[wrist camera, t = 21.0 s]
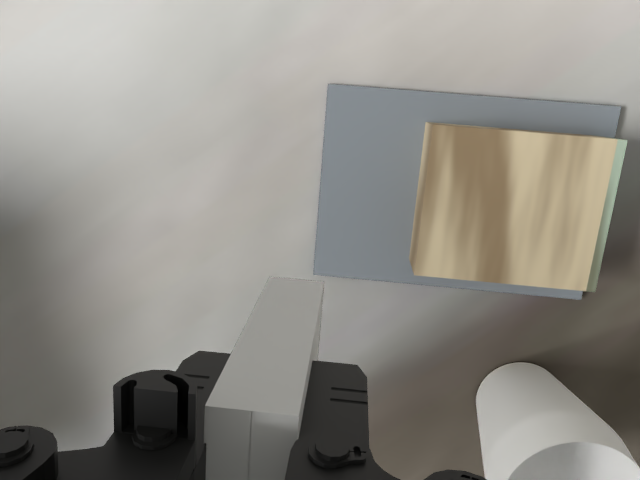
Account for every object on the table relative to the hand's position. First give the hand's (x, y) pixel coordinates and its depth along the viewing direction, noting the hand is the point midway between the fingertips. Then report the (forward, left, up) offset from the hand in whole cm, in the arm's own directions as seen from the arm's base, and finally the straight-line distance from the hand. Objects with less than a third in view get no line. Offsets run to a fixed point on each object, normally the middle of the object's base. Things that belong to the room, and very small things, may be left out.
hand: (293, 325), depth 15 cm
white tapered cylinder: (+16, -16, -27) cm, 35 cm away
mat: (+9, 0, -26) cm, 28 cm away
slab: (+6, 0, -24) cm, 25 cm away
